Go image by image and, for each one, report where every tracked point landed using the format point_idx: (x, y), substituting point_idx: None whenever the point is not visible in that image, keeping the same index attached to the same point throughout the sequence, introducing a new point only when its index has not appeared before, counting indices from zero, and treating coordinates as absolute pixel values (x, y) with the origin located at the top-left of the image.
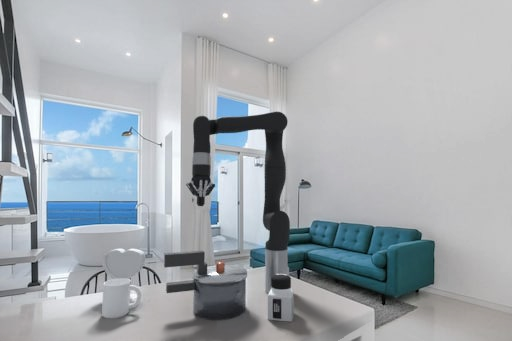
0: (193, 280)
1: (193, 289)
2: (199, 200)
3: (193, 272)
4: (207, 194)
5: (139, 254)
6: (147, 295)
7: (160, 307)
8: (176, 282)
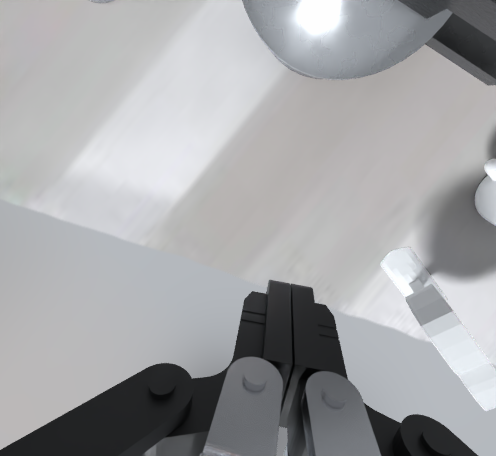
0: None
1: None
2: (324, 343)
3: (430, 34)
4: (175, 382)
5: (456, 316)
6: (374, 243)
7: (417, 143)
8: (483, 56)
